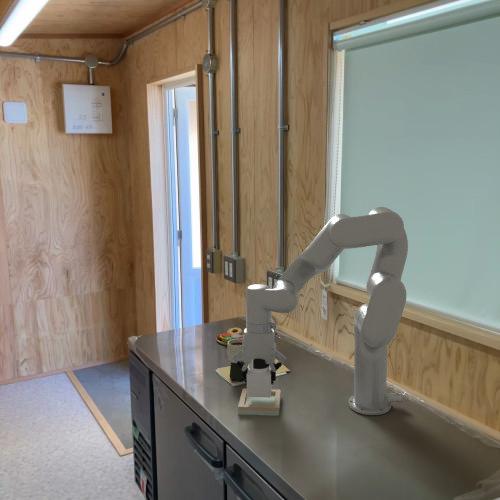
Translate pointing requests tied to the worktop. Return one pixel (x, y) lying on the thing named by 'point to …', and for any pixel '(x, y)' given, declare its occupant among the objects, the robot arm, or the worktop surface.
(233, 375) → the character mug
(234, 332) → the toy food set
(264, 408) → the beige square tray
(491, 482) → the worktop surface
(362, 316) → the robot arm
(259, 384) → the medicine bottle
